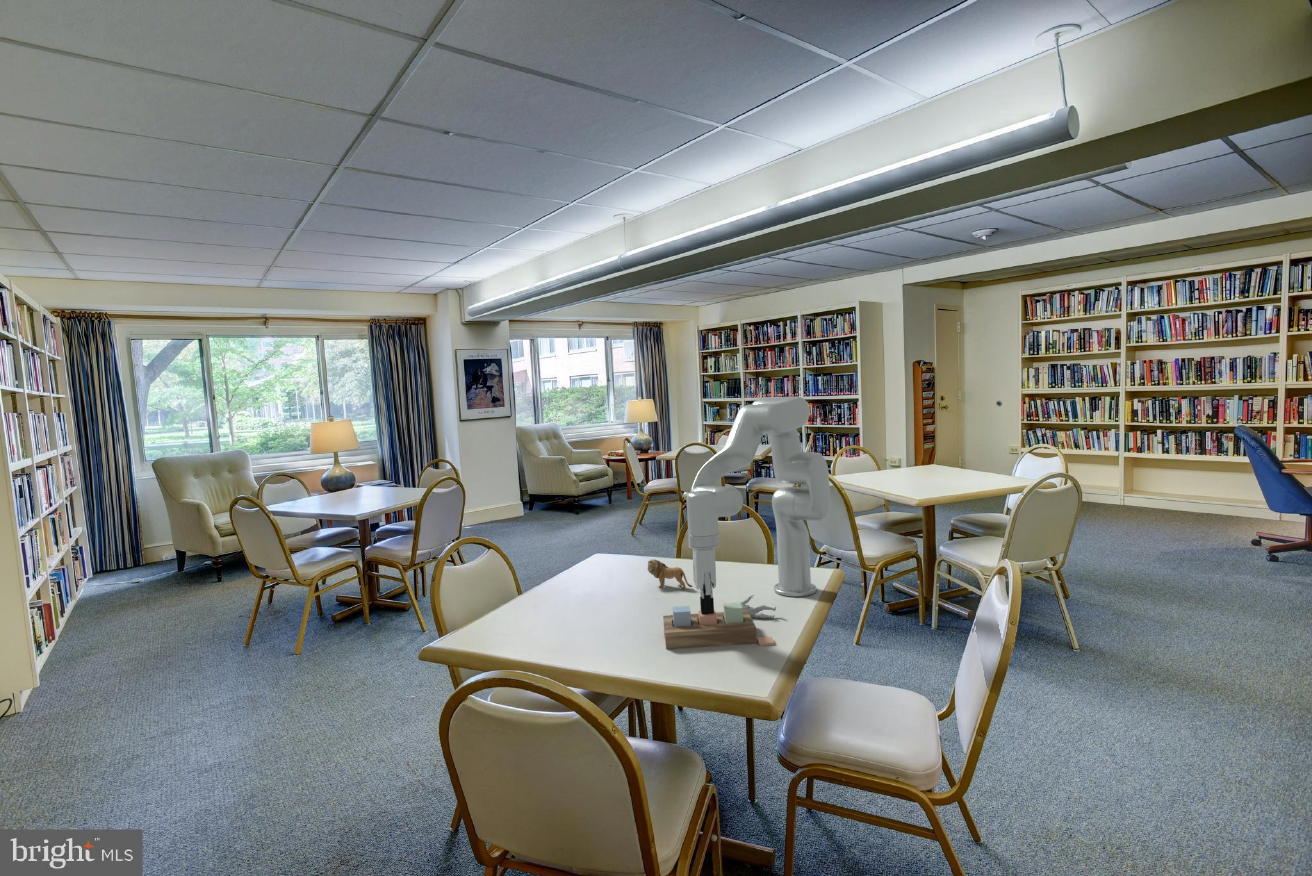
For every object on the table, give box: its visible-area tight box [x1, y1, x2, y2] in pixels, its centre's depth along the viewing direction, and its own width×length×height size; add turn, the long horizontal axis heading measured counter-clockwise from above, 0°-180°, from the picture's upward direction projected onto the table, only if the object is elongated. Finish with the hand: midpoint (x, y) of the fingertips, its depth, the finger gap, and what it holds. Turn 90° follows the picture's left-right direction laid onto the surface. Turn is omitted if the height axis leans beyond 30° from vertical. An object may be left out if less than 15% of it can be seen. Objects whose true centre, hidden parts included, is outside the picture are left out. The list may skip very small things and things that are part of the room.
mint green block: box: [723, 602, 743, 624], centre depth 157 cm, size 4×4×6 cm
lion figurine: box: [647, 558, 693, 591], centre depth 200 cm, size 15×5×9 cm, turn 72°
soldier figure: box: [739, 594, 777, 620], centre depth 169 cm, size 8×5×12 cm
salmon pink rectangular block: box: [697, 609, 717, 625], centre depth 157 cm, size 4×4×6 cm
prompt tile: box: [756, 636, 776, 647], centre depth 151 cm, size 4×4×1 cm
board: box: [662, 610, 758, 650], centre depth 157 cm, size 12×22×4 cm, turn 92°
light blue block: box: [672, 605, 692, 627], centre depth 156 cm, size 4×4×6 cm
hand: (707, 612), depth 157 cm, fingers closed
